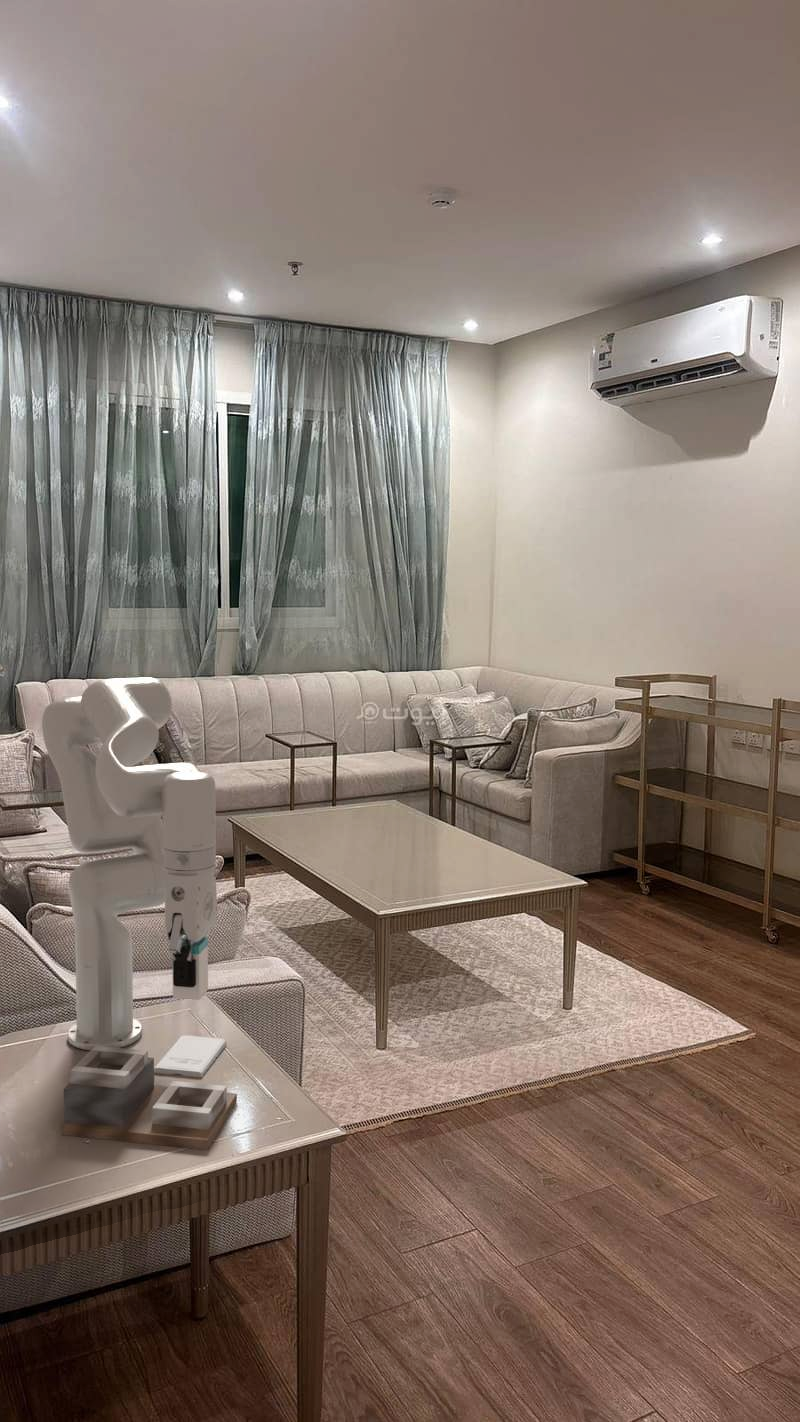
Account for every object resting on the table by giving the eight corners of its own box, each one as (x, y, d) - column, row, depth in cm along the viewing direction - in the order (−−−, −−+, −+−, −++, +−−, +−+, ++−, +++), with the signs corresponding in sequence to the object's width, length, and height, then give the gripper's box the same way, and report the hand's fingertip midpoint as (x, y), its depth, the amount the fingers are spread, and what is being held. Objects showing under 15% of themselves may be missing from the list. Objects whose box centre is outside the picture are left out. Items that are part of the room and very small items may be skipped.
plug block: (172, 998, 157) (172, 944, 156) (182, 987, 161) (181, 935, 160) (199, 999, 156) (199, 946, 155) (208, 989, 160) (207, 937, 159)
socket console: (61, 1134, 157) (60, 1079, 156) (101, 1089, 171) (101, 1038, 170) (207, 1150, 154) (207, 1093, 153) (236, 1102, 167) (236, 1050, 166)
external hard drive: (226, 1047, 188) (201, 1080, 175) (181, 1043, 189) (153, 1076, 177) (226, 1039, 187) (201, 1071, 175) (181, 1034, 189) (153, 1066, 177)
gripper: (194, 875, 147) (195, 1004, 149) (232, 845, 164) (232, 962, 166) (142, 871, 148) (143, 1000, 151) (184, 842, 165) (185, 958, 167)
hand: (190, 978), depth 158 cm, fingers closed on plug block, 4 cm apart
